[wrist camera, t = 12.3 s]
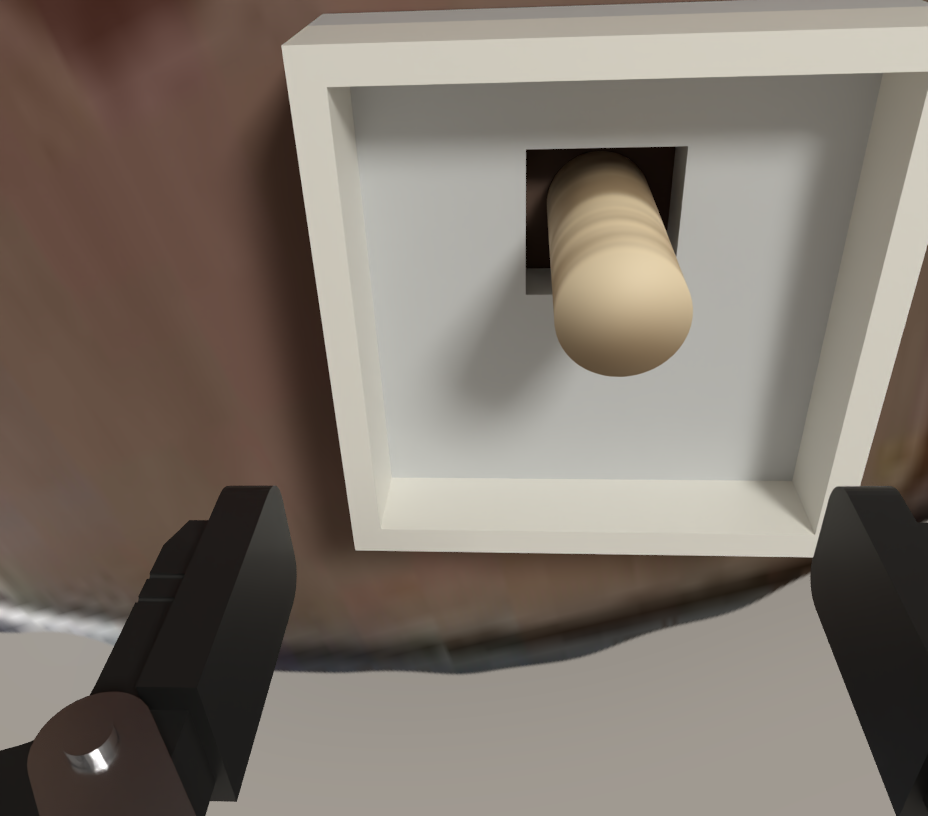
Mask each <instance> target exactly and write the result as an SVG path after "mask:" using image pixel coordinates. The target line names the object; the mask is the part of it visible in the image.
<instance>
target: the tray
mask: <svg viewBox="0 0 928 816" xmlns="http://www.w3.org/2000/svg"><path fill="white" fill-rule="evenodd" d="M281 47H282V54H283V60H284V67H285V74H286V81H287V88H288V95H289V101H290V108H291V115H292V122H293V129H294V136H295V142H296V149H297V156H298V163H299V170H300V176H301V183H302V190H303V197H304V204H305V211H306V217H307V224H308V231H309V238H310V245H311V252H312V258H313V265H314V272H315V279H316V286H317V293H318V299H319V306H320V313H321V320H322V327H323V334H324V340H325V347H326V354H327V361H328V368H329V375H330V381H331V388H332V395H333V402H334V409H335V416H336V422H337V429H338V436H339V443H340V450H341V457H342V463H343V470H344V477H345V484H346V491H347V498H348V504H349V511H350V518H351V525H352V532H353V539H354V545H355V550H365V551H431V552H497V553H564V554H630V555H697V556H763V557H813V556H814V552H815V549H816V545H817V541H818V538H819V534H820V530H821V526H822V523H823V519H824V515H825V511H826V508H827V504H828V500H829V497H830V494H831V492H832V490H833V489H834V488H835V487H838V486H860V484H861V480H862V477H863V473H864V469H865V466H866V462H867V459H868V455H869V452H870V448H871V444H872V441H873V437H874V434H875V430H876V427H877V423H878V419H879V416H880V412H881V409H882V405H883V402H884V398H885V394H886V391H887V387H888V384H889V380H890V377H891V373H892V369H893V366H894V362H895V359H896V355H897V352H898V348H899V344H900V341H901V337H902V334H903V330H904V327H905V323H906V319H907V316H908V312H909V309H910V305H911V301H912V298H913V294H914V291H915V287H916V284H917V280H918V276H919V273H920V269H921V266H922V262H923V259H924V255H925V251H926V248H927V244H928V2H925V1H922V0H740V1H709V2H678V3H647V4H616V5H586V6H555V7H524V8H493V9H462V10H431V11H401V12H370V13H339V14H322V15H321V16H319V17H318V18H317V19H316V20H314V21H313V22H312V23H310V24H309V25H308V26H306V27H305V28H304V29H302V30H301V31H300V32H299V33H297V34H296V35H295V36H293V37H292V38H291V39H289V40H288V41H287V42H285V43H284V44H283V45H282V46H281ZM674 146H676V147H675V157H674V167H673V177H672V187H671V198H670V208H669V218H668V228H667V235H668V237H669V240H670V242H671V245H672V248H673V250H674V253H675V255H676V258H677V261H678V263H679V266H680V268H681V271H682V274H683V276H684V279H685V281H686V284H687V287H688V289H689V292H690V295H691V299H692V304H693V318H692V324H691V327H690V330H689V333H688V335H687V337H686V339H685V341H684V343H683V344H682V345H681V347H680V348H679V349H678V351H677V352H676V353H675V354H674V355H673V356H672V357H671V358H669V359H668V360H667V361H666V362H664V363H663V364H661V365H660V366H658V367H656V368H654V369H652V370H650V371H647V372H645V373H641V374H638V375H633V376H627V377H610V376H604V375H600V374H596V373H593V372H591V371H588V370H586V369H584V368H583V367H581V366H579V365H578V364H577V363H575V362H574V361H573V360H572V359H571V358H570V357H569V356H568V355H567V354H566V353H565V351H564V350H563V349H562V347H561V345H560V343H559V341H558V338H557V335H556V331H555V326H554V310H553V295H552V280H551V268H526V149H575V148H625V147H674Z"/></svg>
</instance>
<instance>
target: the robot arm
mask: <svg viewBox="0 0 928 816" xmlns="http://www.w3.org/2000/svg"><path fill="white" fill-rule="evenodd" d="M295 590H296V561H295V555H294V551H293V546H292V541H291V537H290V532H289V528H288V523H287V518H286V514H285V509H284V505H283V500H282V496H281V493H280V490H279V488H278V487H277V486H226V487H225V488H224V489H223V490H222V492H221V493H220V496H219V498H218V500H217V502H216V505H215V507H214V509H213V512H212V514H211V516H210V518H209V520H189V521H188V522H187V523H186V524H185V525H184V526H183V527H182V528H181V529H180V530H179V531H178V532H177V533H176V534H175V535H174V536H173V537H172V538H171V539H169V540H168V541H167V542H166V543H165V544H164V545H163V547H162V549H161V551H160V553H159V556H158V558H157V560H156V562H155V564H154V566H153V568H152V570H151V572H150V579H147V580H146V582H145V584H144V586H143V588H142V590H141V592H140V594H139V601H138V603H135V605H134V607H133V609H132V611H131V613H130V615H129V617H128V619H127V621H126V623H125V625H124V627H123V629H122V631H121V633H120V635H119V638H118V640H117V642H116V644H115V646H114V648H113V650H112V652H111V654H110V656H109V658H108V660H107V662H106V664H105V666H104V668H103V670H102V672H101V674H100V677H99V679H98V681H97V683H96V685H95V687H94V689H93V690H92V692H91V694H90V696H87V697H85V698H82V699H80V700H77V701H75V702H74V703H72V704H70V705H68V706H66V707H65V708H64V709H62V710H61V711H60V712H58V713H57V714H56V715H55V716H54V717H52V718H51V719H50V720H49V721H48V722H47V723H46V724H45V725H44V727H43V728H42V729H41V730H40V732H39V733H38V735H37V736H36V738H35V739H34V740H33V741H31V742H28V743H25V744H22V745H19V746H16V747H12V748H8V749H5V750H1V751H0V816H205V815H206V811H207V808H208V805H209V801H234V802H237V799H238V795H239V792H240V788H241V785H242V781H243V778H244V774H245V771H246V767H247V764H248V760H249V756H250V753H251V749H252V745H253V742H254V739H255V735H256V732H257V728H258V725H259V721H260V718H261V714H262V711H263V707H264V704H265V700H266V697H267V693H268V690H269V686H270V682H271V679H272V676H273V672H274V668H275V665H276V661H277V658H278V654H279V651H280V647H281V644H282V640H283V637H284V633H285V630H286V626H287V623H288V619H289V616H290V612H291V609H292V605H293V601H294V597H295ZM811 591H812V597H813V601H814V605H815V608H816V611H817V613H818V616H819V618H820V621H821V624H822V626H823V629H824V631H825V634H826V636H827V639H828V642H829V644H830V647H831V649H832V652H833V654H834V657H835V660H836V662H837V665H838V667H839V670H840V672H841V675H842V678H843V680H844V683H845V685H846V688H847V690H848V693H849V695H850V698H851V701H852V703H853V706H854V708H855V711H856V714H857V716H858V718H859V721H860V724H861V726H862V729H863V731H864V734H865V736H866V739H867V741H868V744H869V747H870V750H871V752H872V755H873V757H874V760H875V762H876V765H877V767H878V770H879V773H880V775H881V778H882V780H883V783H884V785H885V788H886V791H887V793H888V796H889V798H890V801H891V803H892V806H893V809H894V811H895V814H896V816H928V523H917V522H916V520H915V518H914V517H913V515H912V513H911V511H910V510H909V508H908V506H907V505H906V503H905V501H904V499H903V498H902V496H901V494H900V493H899V492H898V490H897V489H896V488H894V487H891V486H838V487H835V488H834V489H833V490H832V492H831V494H830V497H829V500H828V504H827V508H826V511H825V515H824V519H823V523H822V526H821V530H820V534H819V538H818V541H817V545H816V549H815V552H814V556H813V560H812V565H811Z"/></svg>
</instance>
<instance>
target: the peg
mask: <svg viewBox="0 0 928 816" xmlns="http://www.w3.org/2000/svg"><path fill="white" fill-rule="evenodd" d="M547 219H548V234H549V249H550V264H551V280H552V295H553V310H554V326H555V331H556V335H557V338H558V341H559V343H560V345H561V347H562V349H563V350H564V351H565V353H566V354H567V355H568V356H569V357H570V358H571V359H572V360H573V361H574V362H575V363H577V364H578V365H579V366H581V367H583V368H584V369H586V370H588V371H591V372H593V373H596V374H600V375H604V376H610V377H627V376H633V375H638V374H641V373H645V372H647V371H650V370H652V369H654V368H656V367H658V366H660V365H661V364H663V363H664V362H666V361H667V360H668V359H669V358H671V357H672V356H673V355H674V354H675V353H676V352H677V351H678V349H679V348H680V347H681V345H682V344H683V343H684V341H685V339H686V337H687V335H688V333H689V330H690V327H691V324H692V318H693V304H692V299H691V295H690V292H689V289H688V287H687V284H686V281H685V279H684V276H683V274H682V271H681V268H680V266H679V263H678V261H677V258H676V255H675V253H674V250H673V248H672V245H671V242H670V240H669V237H668V235H667V232H666V230H665V227H664V224H663V222H662V219H661V217H660V214H659V211H658V209H657V206H656V204H655V201H654V198H653V196H652V193H651V191H650V188H649V185H648V183H647V180H646V178H645V176H644V174H643V173H642V171H641V170H640V168H639V167H638V166H637V165H636V164H635V163H634V162H633V161H631V160H630V159H628V158H627V157H625V156H623V155H621V154H618V153H615V152H610V151H593V152H588V153H585V154H582V155H579V156H577V157H575V158H573V159H572V160H570V161H569V162H568V163H566V164H565V165H564V166H563V167H562V168H561V169H560V170H559V171H558V173H557V174H556V175H555V177H554V179H553V180H552V182H551V185H550V187H549V190H548V195H547Z"/></svg>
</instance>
